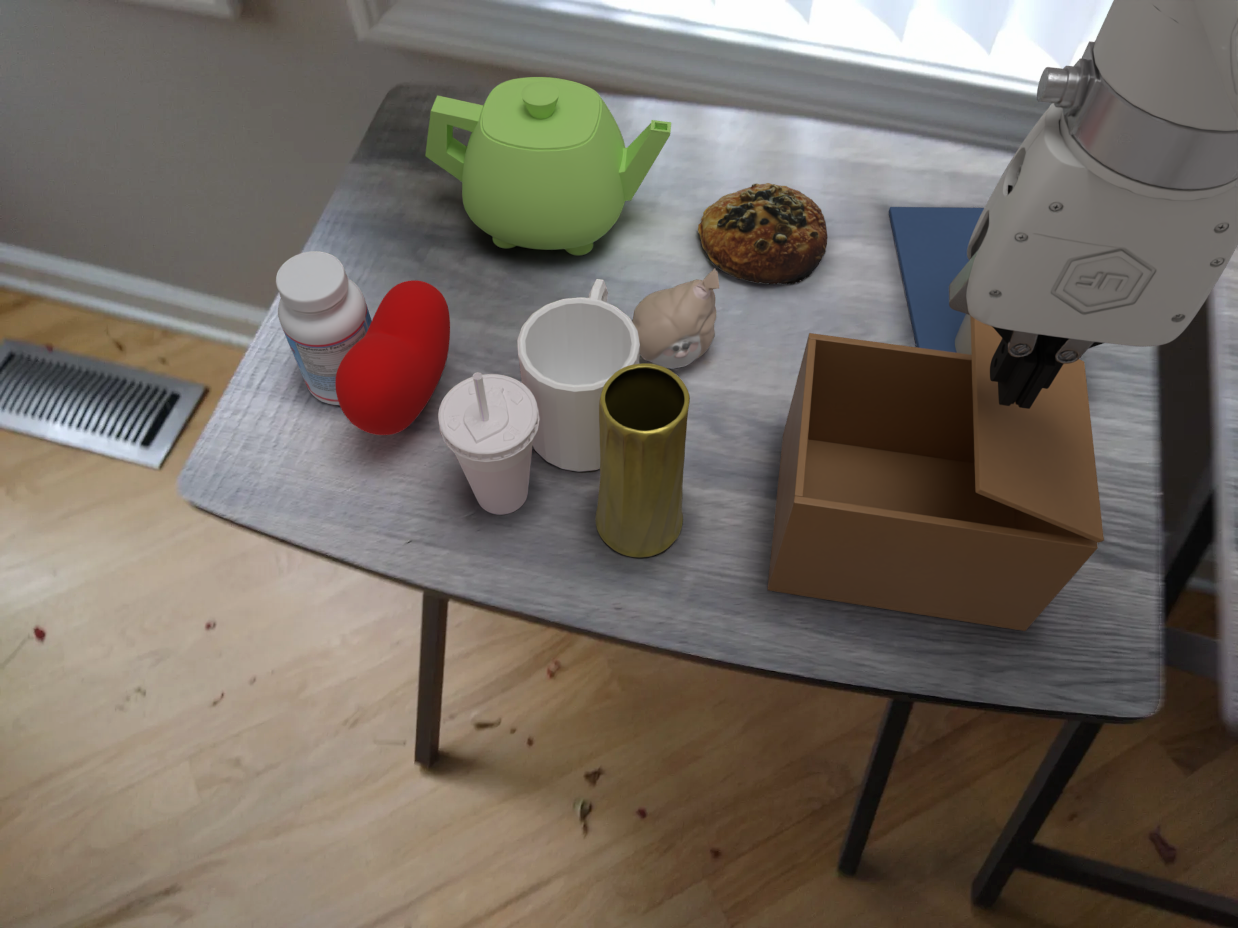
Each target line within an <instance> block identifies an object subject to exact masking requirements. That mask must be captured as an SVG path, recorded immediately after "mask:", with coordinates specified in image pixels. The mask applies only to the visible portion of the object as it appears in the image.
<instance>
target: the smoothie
mask: <svg viewBox="0 0 1238 928" xmlns="http://www.w3.org/2000/svg"><path fill="white" fill-rule="evenodd" d="M437 417H438V418H437V419H438V425H439V433H440V435H441V438H442V440H443V443H445V444H446V446H447V447H448V449H450V451H451V452H453V453H454V455H455V457H456V459H457V461H458V463H459V465H460V467H461V470H462V472H463V474H464V476H465V477H466V480H467V482H468V484H469V486H470V489H471V490H472V493H473V494H474V497H475V499H476V501H477V503H478V504H479V506H480V507H481V508H482V509H483V510H484V511H486V512H488V513H490V514H493V515H498V516H499V515H502V516H503V515H509V514H512V513H514V512H516V511H517V510H519V509H520V508H521V507H522V506H523V505H524V504H525V503H526V501H527V499H528V494H529V486H530V485H529V483H530V476H531V475H530V474H531V463H532V454H533V445H532V444H533V438H534V436H535V435H536V433H537V431H538V426H539V421H540V418H539V411H538V407H537V403H536V400H535V397H534V395H533V394H532V392H531V391H530V390H529V389H528V388H527V387H526V386H525V385H524V384H523V383H522V381H521V380H518V379H516V378H514V377H511V376H509V375H504V374H499V373H484V374H482V372H478V371H477V372H474V373H473V375H472V376H471V377H468V378H466V379H464V380H462V381H460V382H459V383H457V384H455V385H454V386H453V387H452V388H451V389H450V390H449V391H447V393H446V395H444V397H443V399H442V401H441V403H440V405H439V409H438V414H437Z"/></svg>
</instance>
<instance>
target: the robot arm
mask: <svg viewBox="0 0 1238 928" xmlns="http://www.w3.org/2000/svg"><path fill="white" fill-rule="evenodd" d="M1108 9H1109V10H1108V12H1107V14H1106V16H1105V18H1104V20H1103V22H1102V25H1101V27H1100V28H1099V31H1098V33H1097V35H1096V37H1095V40H1094V41H1088V44H1087V45H1086V48H1085V50H1084V51H1083V53H1082V55H1081V57H1080V58H1079V59H1078V60H1077V62H1075V64H1074V65H1065V66H1063V68H1062V67H1061V68H1060V67H1051V66H1047V67H1045V68H1044V69H1043V70H1042V73H1041V75H1040V78H1039V81H1038V85H1037V90H1036V101H1037V102H1039V103H1045V104H1046V103H1047V104H1050V105H1049V106H1048V107H1047V109H1046V110H1045V112H1044V113H1043V114H1042V115H1041V116H1040V118H1039V119H1038V120H1037V121H1036V123H1035V125H1034V126H1033V127H1032V128H1031V130H1030V131H1029V132H1028V134H1027V135H1026V137H1025V138H1024V140H1023V141H1022V142H1021V144H1020V145H1019V147H1018V149H1017V150H1016V152H1015V153H1014V155H1013V156H1012V158H1011V159H1010V161H1009V163H1008V164H1007V166H1006V168H1005V169H1004V171H1003V172H1002V174H1001V176H1000V178H999V180H998V181H997V183H996V185H995V187H994V189H993V190H992V193H991V194H990V196H989V198H988V200H987V202H986V204H985V206H984V207H983V208H984V210H983V212H982V214H981V216H980V218H979V220H978V222H977V224H976V226H975V228H974V231H973V233H972V236H971V238H970V241H969V244H968V248H967V257H968V259H969V261H968V263H967V264H966V265H965V266H964V267H963V269H962V270H961V271H960V272H959V274H958V275H957V276H956V277H955V278H954V280H953V281H952V282H951V283H950V285H949V306H950V308H951V309H953V310H956V311H959V312H962V313H965V314H968V315H971V316H972V317H973V318H975V319H976V320H978V321H980V322H982V323H984V324H987V325H989V326H992V327H993V328H994V329H995V330H996V331H997V333H998V334H999V335H1000V336H1001V337H1002V340H1001V342H1000V344H999V346H998V348H997V350H996V351H995V353H994V355H993V357H992V360H991V364H990V380H991V381H993V382H998V397H999V405H1005V406H1010V405H1011V404H1014V403H1016V405H1018V406H1019V407H1020V408H1026V409H1030V407H1031V406H1032V404H1033V403H1034V401H1035V399H1036V398H1037V396H1038V394H1039V393H1040V391H1041V389H1042V388H1044V389H1048V388H1049V387H1050V385H1051V384H1052V382H1053V380H1054V379H1055V377H1056V375H1057V374H1058V372H1059V371H1060V369H1061V367H1062V366H1063V364H1069V363H1073V362H1075V361H1077V360H1078V359H1081V358H1082V357H1083V355H1084V354H1085V353H1086V352H1087V351H1088V350H1090V349H1091V348H1095V347H1098V346H1100V345H1103V344H1110V345H1118V346H1129V347H1141V348H1142V347H1145V348H1146V347H1147V348H1148V347H1157V346H1164V345H1166V344H1169V343H1171V342H1173V341H1175V340H1176V339H1177V338H1178V337H1179V336H1180V335H1181V334H1183V333H1184V332H1185V330H1186V329H1187V328H1188V327H1189V325H1190V324H1191V323H1192V321H1193V320H1194V318H1195V317H1196V315H1197V314H1198V312H1200V310H1201V308H1202V307H1203V305H1204V304H1205V302H1206V301H1207V299H1208V297H1210V294H1211V292H1212V291H1213V290H1214V288H1215V286H1216V285H1217V283H1218V281H1219V279H1220V277H1221V276H1222V274H1223V273H1224V271H1225V269H1226V268H1227V266H1228V264H1229V262H1230V261H1231V258H1232V257H1233V255H1234V254H1235V251H1236V249H1237V248H1238V0H1112V3H1111V5H1110V7H1109V8H1108Z"/></svg>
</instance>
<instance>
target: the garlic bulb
mask: <svg viewBox="0 0 1238 928" xmlns="http://www.w3.org/2000/svg"><path fill="white" fill-rule="evenodd" d="M718 289H720V281H719V272H718V270H716V268H713V269H712V270H711V271H709V273H707V275H706V276H705V277H704V278H703V279H700V278H699V279H693V280H690V281H685V282H683V283H679V284H676V285H675V286H674V287H670V288H664V289H660V290H656V291H653V292H651V293H649V294H647V295H646V296H645V297H643V299H642V300H641V301H639V303H638V304H637V305H636V306H635V308H634V310H633V315H632V319H631V321H632V322H633V324H634V326H635V327H636V329H637V331H638V337H639V343H640V355H639V356H640V357H641V358H642V359H643V360H645V361H646V362H647V361H648V362H649V363H651V364H655V365H659V366H662V367H665V368H667V369H679V368H683V367H686V366H688V365H690V364H692V363H693V362H695V361H696V359H698V358H700V357H701V356H703V355H705V353H706V352H707V351H708V349H709V348H710V347H711V345H712V343H713V340H714V338H715V335H716V330H715V323H716V320H717V307H716V294H715V291H714V290H718Z"/></svg>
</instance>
